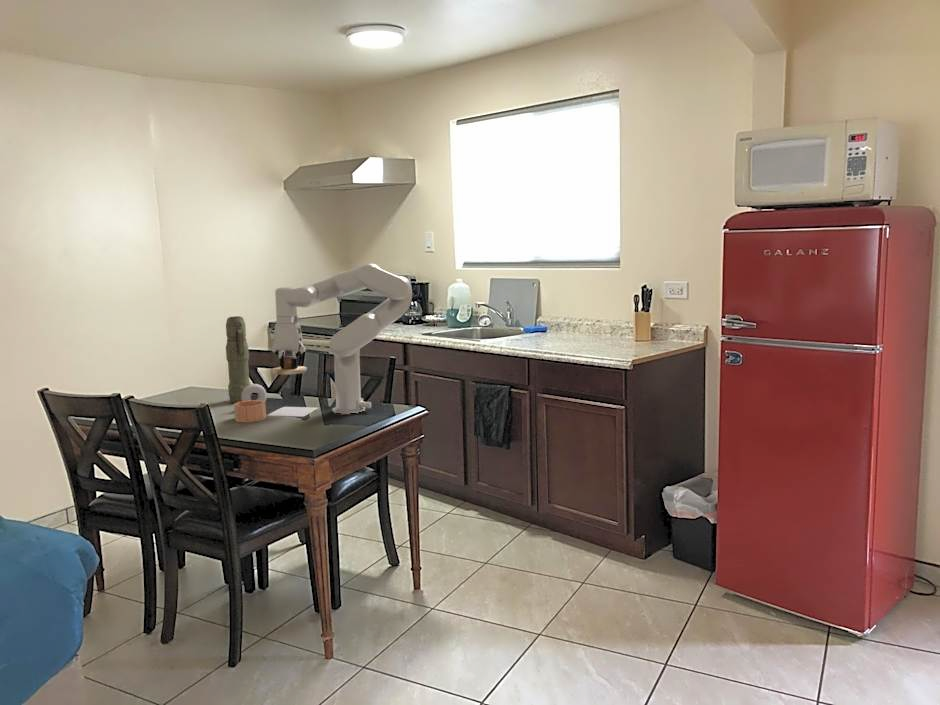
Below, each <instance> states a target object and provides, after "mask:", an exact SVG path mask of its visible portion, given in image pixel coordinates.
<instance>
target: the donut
mask: <svg viewBox="0 0 940 705" xmlns="http://www.w3.org/2000/svg"><path fill="white" fill-rule="evenodd" d="M250 384H251V385H248V386H247V387H246V388H245V389H244V390H243V392H242V395H241V399H242V401H250V400H252V398H251V399H250V395H251V396H252V394H254V393H256V394H257V398H256V399H255V400H261V401H265V402H266V400H267V399H268V398H267V397H268V395H267V391H266V389H265V388H264V387H263V386H262V385H261V384H258V383H250Z"/></svg>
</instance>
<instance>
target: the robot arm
mask: <svg viewBox="0 0 940 705" xmlns="http://www.w3.org/2000/svg"><path fill="white" fill-rule="evenodd" d="M366 289H369V290H371V291H373V292H375V293H376V294H377V293H378V294H380V295H382V296H383V297H384V296H385V297H387V298H386V299H385V300H384V301H382V302H380V304H378V305H377V306H375V307H374V308H373V309H371V310H369V311H368V312H367V313H364V314H362V315H360V316H359V317H358V318H356V319H354V320H353V321H352V322H351V323H349V324H348V325H346V326H345V327H343V328H342V329H341V330H338V331H337V332H336V333H334V334H333V335H332V337H330V341H329V346H328V347H329V350H330V352H331V353H332V354H333V356H334V357H333V358H334V359H333V360H334V363H333V364H334V366H333V367H334V386H335V387H334V388H335V390H334V391H335V407H333V408H331V410H332V411H333V412H334V414H336V413H341V414H340V415H351V414H350V413H356V414H360V413H359V412H361V413H363V412H362V411H364V412H365V411H366V410H365V409H366V408H372V402H371V401H364V398H363V397H362V396H361V395H362V394H361V393H362V392H361V391H362V390H361V364H360V363H361V360H360V356H361V355H360V353H361V351H360V349H362V348H363V347H365V346H366V345H367V344H369V343H370V342H372V341H373V340H374V339H375V338H377V336H378V335H379V334H380V333H381V332H382V331H384V330H385V329H386V328H388V327H389V326H391V325H392V324H393V323H395V322H396V321H397V320H399V319H400V318H401V317H402V316H403V315H404V314H405V313H406V312H407V311H408V310H409V308H410V306H411V303H412V300H413V289H412V283H411V282H410V281H409V279H408V278H407V277H405V276H402V275H395V274H393V273H390V271H389V272H388V271H386V270H384V269H382V268H380V266H379V265H378V264H375V263H366V264H365V263H364V264H363V265H361V266H357V267H354V268H351V269H348V270H346V271H342V272H340V273H337V274H335V275H333V276H332V277H329V278H327V279H324V280H321V281H318V282H316V283H313V284H310V285H307V286H306V285H305V286H303V287H302V286H301V287H296V288H294V287H290V286H288V287H278V288H276V289H275V292H274V293H275V295H274V296H275V297H274V298H275V311H276V312H275V314H276V323H275V325H274V331H273V332H274V333H273V345H271V348H270V351H272V352H273V353H274V354H275V355H276V356H277V357H278V359H279V367H281V369H284V359H283V357H285V354H286V351H291V354H292V356H293V359H292V369H296V368H297V367H298V366H299V357H301V355H302V354H303V353H305V352H306V351H307V349H306V347H305V346H304V340H303V333H302V329H301V328H302V327H301V325H300V323H298V322H301V317H298V312H297V311H298V310H297V309H298V308H309V307H312V306H314V305H317V304H319V303H322V302H325V301H328V300H329V301H330V300H331V299H335V298H340V297H345V296H348V295H351V294H354V293H357V292H359V291H363V290H366ZM333 412H332V413H333Z"/></svg>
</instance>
